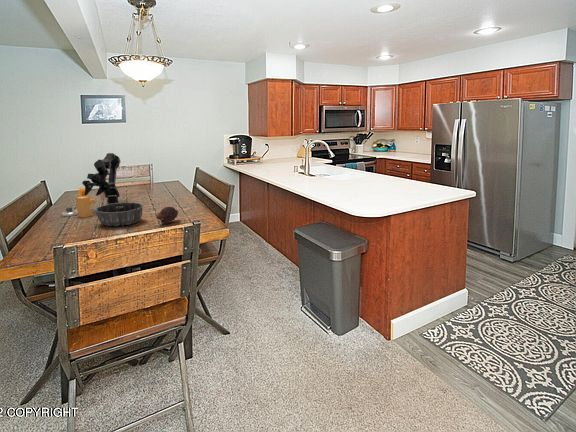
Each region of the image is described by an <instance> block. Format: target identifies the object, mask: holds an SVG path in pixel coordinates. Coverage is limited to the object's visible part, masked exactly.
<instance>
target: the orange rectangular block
mask: <svg viewBox="0 0 576 432" xmlns="http://www.w3.org/2000/svg"><path fill="white" fill-rule="evenodd" d="M90 199H91V197H90V196H87V197H85V196H82V197H79V196H78V197H75V203H76V204H75V205H76V210H77V212H78V215H77V217H78V218H85V219H86V218H89V217H92V216H93V212H92V211H93V210H91V207H92V206H91V205H92V204H90Z"/></svg>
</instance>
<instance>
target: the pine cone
mask: <svg viewBox="0 0 576 432" xmlns="http://www.w3.org/2000/svg"><path fill="white" fill-rule="evenodd" d="M178 213H179V211H178V210H177V209H176V208H175V207H174V206H165V207H163V208H162V209H161V210H160V212H158V213H157V214H156V215H155V218H156V219H157V220H159V221H160V222H161V223H162V224H166V225H167V224H168V225H169V224H170V223H172V222H173V221H175V220H176V218H178V215H179V214H178Z"/></svg>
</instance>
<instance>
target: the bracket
mask: <svg viewBox="0 0 576 432" xmlns="http://www.w3.org/2000/svg"><path fill="white" fill-rule="evenodd" d="M88 195H89V193H88V194H87V195H85V187H79V188H78V197H82V196H85V197H88ZM94 202H95V198H90V204H91V205H92V204H94Z"/></svg>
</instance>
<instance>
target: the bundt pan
mask: <svg viewBox="0 0 576 432" xmlns="http://www.w3.org/2000/svg"><path fill="white" fill-rule="evenodd" d="M143 207H144V204H142V203H140V202H130V201H129V202H118V203H114V204H107V203H106V204H104V205H101V206H98V207H96V208H95V209H94V212H95V213H96V216H97V219H98V221H99V223H101V224H102V225H104V226H108V227H119V226H122V227H124V226H129V225H133V224H136V223H137V222H139V221H140V220H141V219H142V217H143Z"/></svg>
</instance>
